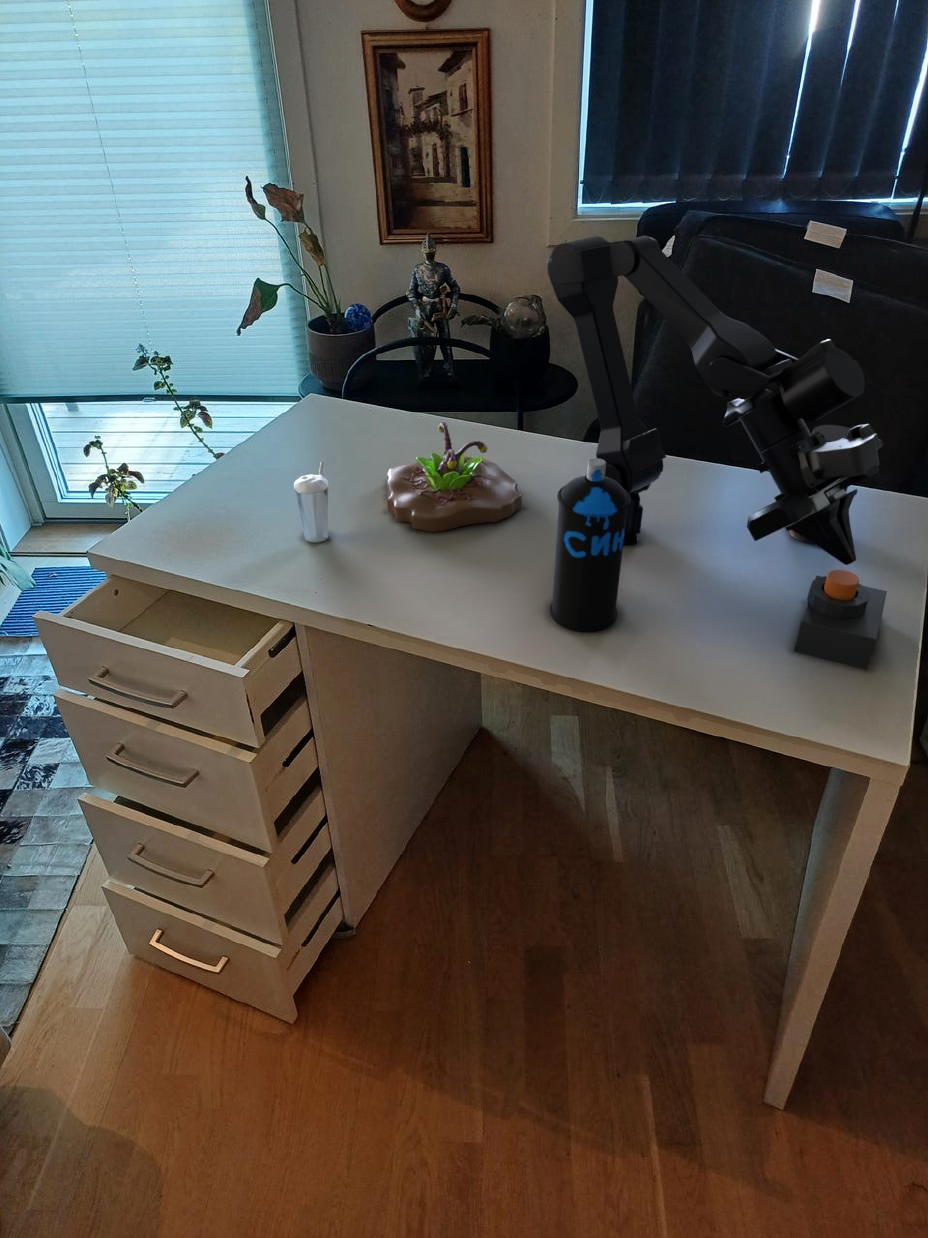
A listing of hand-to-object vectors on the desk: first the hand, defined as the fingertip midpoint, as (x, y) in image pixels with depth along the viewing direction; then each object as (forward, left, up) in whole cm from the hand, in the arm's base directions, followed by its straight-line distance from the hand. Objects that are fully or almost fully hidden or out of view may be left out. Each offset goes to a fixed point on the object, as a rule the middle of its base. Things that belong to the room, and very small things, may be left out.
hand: (851, 562), depth 100 cm
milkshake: (-64, +23, -10) cm, 69 cm away
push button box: (+1, 0, -10) cm, 10 cm away
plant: (-46, +35, -10) cm, 58 cm away
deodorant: (+5, +24, -10) cm, 27 cm away
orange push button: (0, 0, -4) cm, 4 cm away
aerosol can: (-29, +4, -10) cm, 31 cm away
